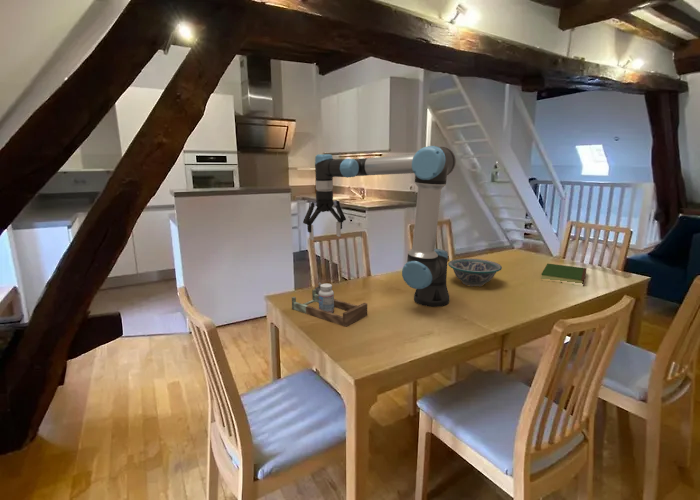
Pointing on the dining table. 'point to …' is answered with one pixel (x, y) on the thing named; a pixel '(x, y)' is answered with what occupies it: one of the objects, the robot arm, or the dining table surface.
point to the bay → (348, 317)
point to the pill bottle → (326, 298)
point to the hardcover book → (564, 273)
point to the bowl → (474, 270)
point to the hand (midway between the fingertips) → (325, 237)
